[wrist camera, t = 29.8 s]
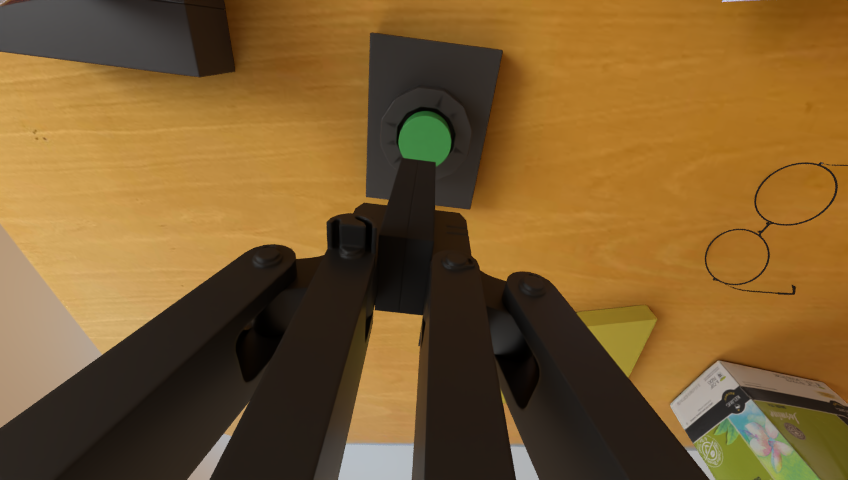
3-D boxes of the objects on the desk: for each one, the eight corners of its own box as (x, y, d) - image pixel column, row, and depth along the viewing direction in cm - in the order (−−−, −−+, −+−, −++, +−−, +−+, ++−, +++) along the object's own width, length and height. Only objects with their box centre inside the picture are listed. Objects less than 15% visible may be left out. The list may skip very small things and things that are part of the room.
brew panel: (375, 33, 24) (364, 31, 21) (498, 49, 24) (508, 50, 21) (370, 187, 30) (361, 206, 27) (468, 199, 31) (471, 219, 27)
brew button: (403, 107, 23) (400, 112, 22) (454, 114, 23) (455, 119, 22) (399, 158, 25) (396, 165, 24) (446, 164, 25) (447, 172, 24)
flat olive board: (443, 392, 45) (632, 377, 42) (443, 407, 43) (641, 392, 40) (427, 328, 39) (646, 304, 36) (426, 342, 37) (657, 319, 34)
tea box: (665, 405, 45) (754, 550, 32) (716, 356, 40) (847, 505, 27) (763, 424, 46) (887, 571, 33) (825, 379, 41) (998, 532, 28)
